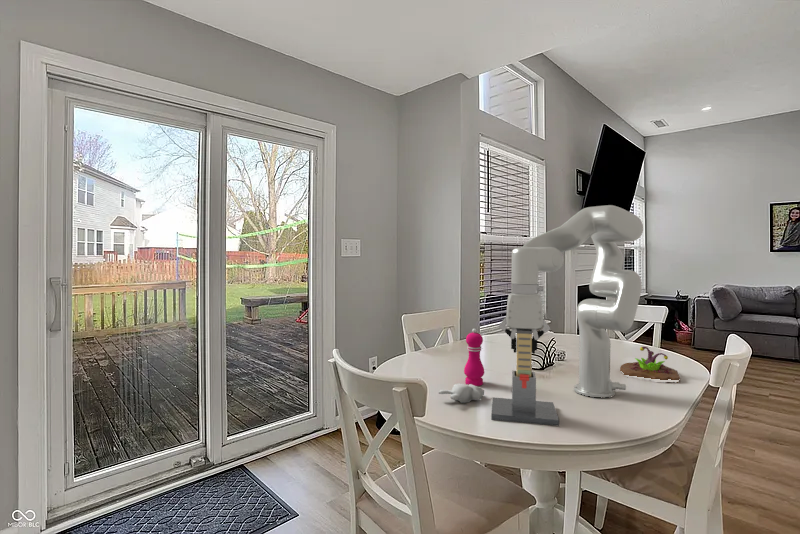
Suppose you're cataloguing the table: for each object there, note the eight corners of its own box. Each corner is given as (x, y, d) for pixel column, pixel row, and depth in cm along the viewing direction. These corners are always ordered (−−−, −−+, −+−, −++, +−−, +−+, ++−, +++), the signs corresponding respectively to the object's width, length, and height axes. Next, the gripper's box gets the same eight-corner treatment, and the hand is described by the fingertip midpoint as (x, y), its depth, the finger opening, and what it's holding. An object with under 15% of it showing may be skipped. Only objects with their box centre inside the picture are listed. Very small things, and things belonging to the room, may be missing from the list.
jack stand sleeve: (553, 407, 128) (553, 367, 128) (558, 425, 115) (559, 380, 114) (492, 402, 133) (492, 363, 132) (491, 419, 119) (491, 376, 119)
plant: (620, 366, 176) (621, 339, 176) (676, 372, 167) (677, 344, 166) (619, 378, 159) (620, 349, 158) (681, 386, 149) (682, 355, 149)
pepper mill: (484, 387, 148) (484, 330, 147) (463, 385, 149) (463, 329, 148) (484, 381, 155) (484, 326, 154) (464, 379, 156) (464, 326, 155)
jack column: (530, 384, 125) (531, 328, 124) (531, 389, 121) (532, 331, 120) (515, 383, 126) (516, 328, 125) (516, 388, 122) (517, 330, 121)
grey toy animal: (491, 387, 135) (456, 390, 126) (489, 403, 135) (454, 408, 126) (470, 380, 143) (436, 382, 134) (469, 395, 143) (434, 398, 134)
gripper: (553, 289, 124) (553, 350, 125) (495, 288, 128) (494, 347, 129) (557, 291, 117) (556, 357, 117) (494, 290, 121) (494, 353, 121)
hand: (524, 351), depth 123 cm, fingers open, 4 cm apart
